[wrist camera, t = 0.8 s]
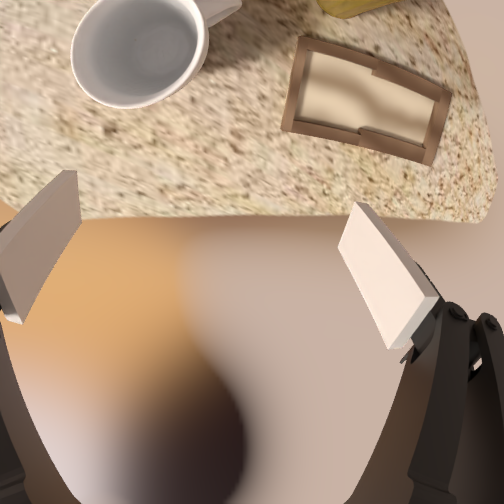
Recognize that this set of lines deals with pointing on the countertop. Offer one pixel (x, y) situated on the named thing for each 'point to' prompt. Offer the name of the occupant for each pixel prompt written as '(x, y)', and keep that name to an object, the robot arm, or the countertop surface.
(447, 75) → the countertop surface
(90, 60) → the mug
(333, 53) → the shallow serving tray
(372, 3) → the vase
